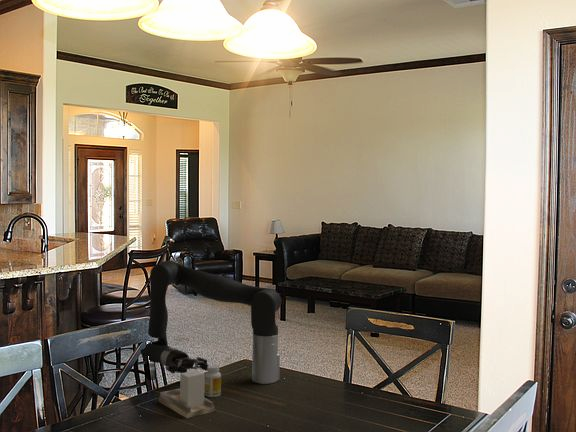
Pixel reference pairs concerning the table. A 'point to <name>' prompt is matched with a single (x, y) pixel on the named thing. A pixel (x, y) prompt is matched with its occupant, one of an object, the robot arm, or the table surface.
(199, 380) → the white padded block
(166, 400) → the birch tray
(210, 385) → the supplement bottle
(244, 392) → the table surface
